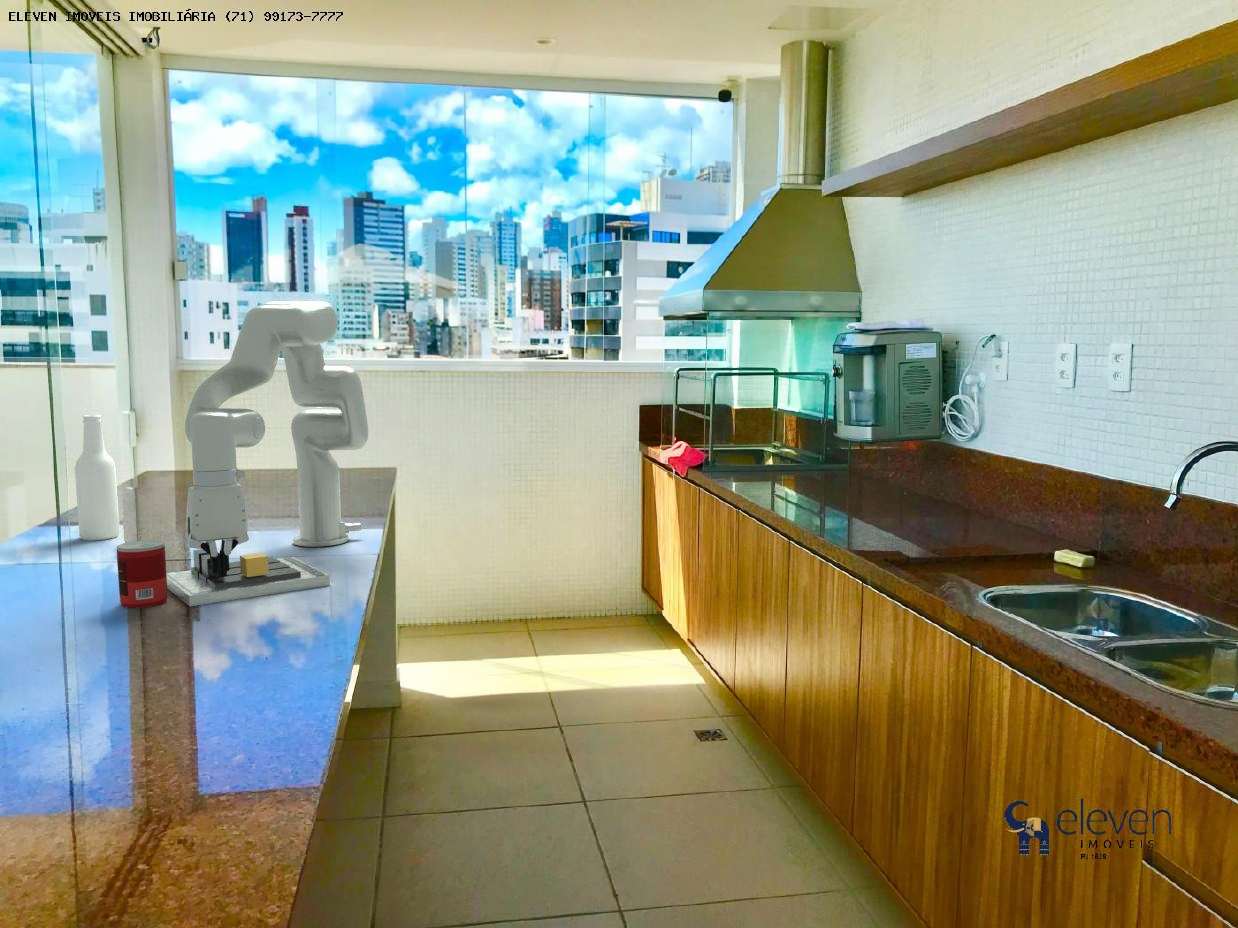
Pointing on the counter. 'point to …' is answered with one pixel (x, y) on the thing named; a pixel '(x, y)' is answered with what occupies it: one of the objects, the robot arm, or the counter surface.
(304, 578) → the panel
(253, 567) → the mustard yellow cube
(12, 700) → the counter surface
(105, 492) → the alcohol
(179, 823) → the counter surface
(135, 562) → the canned food
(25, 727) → the counter surface
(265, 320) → the robot arm
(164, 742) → the counter surface
